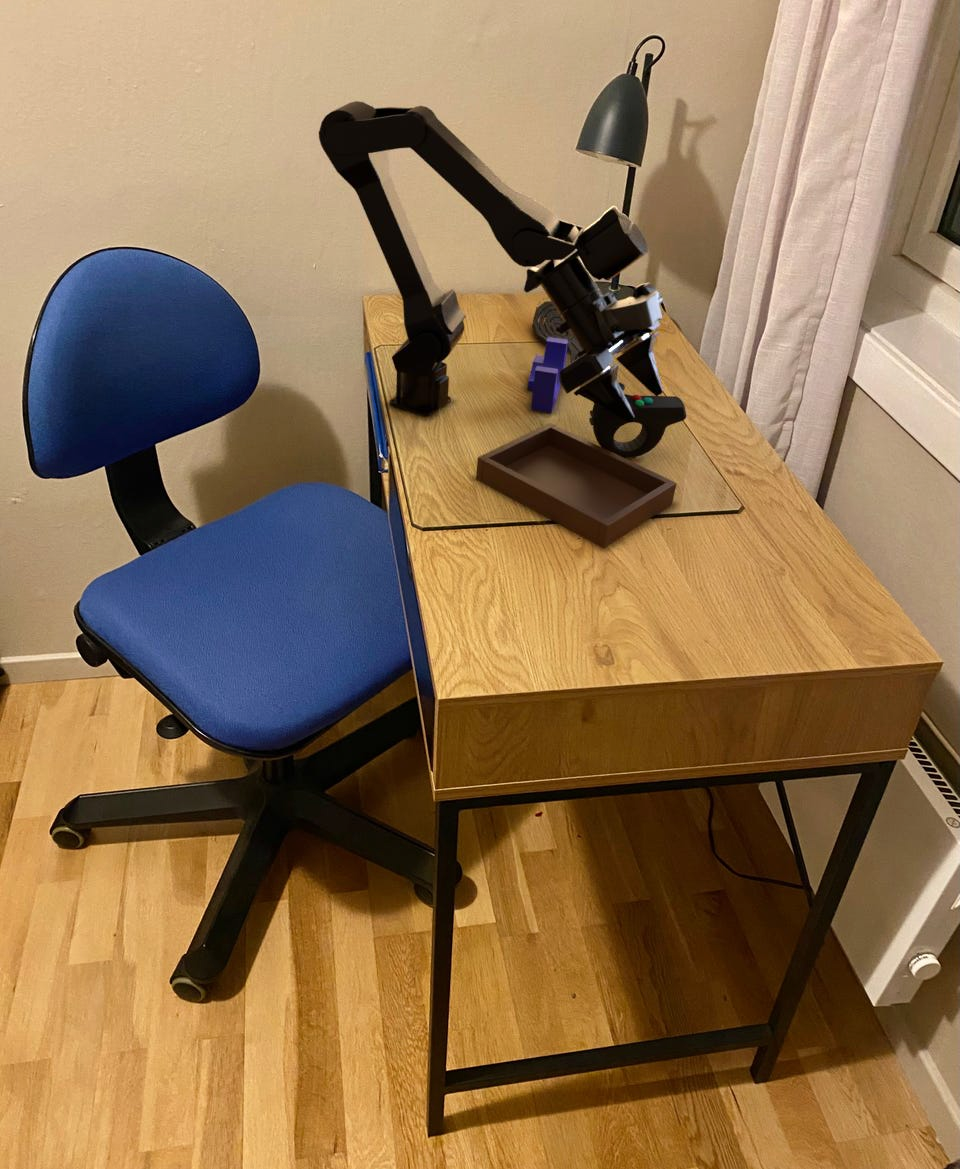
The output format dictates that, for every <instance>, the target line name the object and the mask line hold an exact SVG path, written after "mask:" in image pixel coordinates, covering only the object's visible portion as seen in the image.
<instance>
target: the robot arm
mask: <svg viewBox="0 0 960 1169" xmlns="http://www.w3.org/2000/svg"><path fill="white" fill-rule="evenodd" d="M318 141H319V143H320V146H321V148H322V150H323V152H324V153H325V155H326V156H327V159H328V160H329V161H330V163H331V165H332V166H333V168H334V169H335V171H336V173H337V174H338V175H339V176H340V177H341V178H342V179H343V180H344V181H345V182H346V183H347V184H349V186H350V187H351V188H352V189H354V191H355V193H356V195H357V196H358V200H359V202H360V204H361V206H362V208H363V211H364V213H365V216H366V218H367V220H368V222H369V224H370V227H371V229H372V231H373V234H374V236H375V238H376V241H377V243H378V246H379V248H380V250H381V252H382V254H383V257H384V260H385V262H386V264H387V266H388V269H389V271H390V273H391V275H392V278H393V280H394V282H395V285H396V287H397V289H398V291H399V294H400V296H401V300H402V305H403V306H402V308H403V309H402V310H403V311H402V312H403V326H404V330H405V332H406V339H405V341H404V342H403V343H402V344H401V346H399V348H398V349H396V351H395V353H394V354H392V356H391V360H392V364H393V367H394V370H395V372H396V379H395V380H396V382H395V383H396V385H395V386H396V389H395V390H396V392H395V397H393V398H391V399H390V400H389V405H390V406H393V407H396V408H398V409H401V410H404V411H406V412H407V411H408V412H409V413H412V414H416V415H418V416H421V417H425V418H429V417H430V416H432V415H433V414H435V413H436V412H438V411H439V410H441V409H442V408H444V407H445V406H447V405H448V404H449V403H451V402H452V397H451V396H449V388H450V387H449V385H450V377H449V375H447V373H448V371H447V370H448V364H447V363H445V362H444V361H445V360H446V359H447V358H448V357H449V355H450V354H451V353H452V351H453V350H454V349H455V347H456V346H457V344H458V343H459V342H460V341H461V339H462V337H463V335H464V332H465V324H464V320H465V318H466V317H467V315H466V313H464V311H463V310H462V308H461V307H460V304H459V300H458V296H457V293H456V291H455V289H451V290H449V291H447V292H444V290H443V289H441V287H439V286H438V284H437V283H436V282H435V281H434V278H433V275H432V273H431V271H430V268H429V266H428V264H427V261H426V259H425V256H424V254H423V251H422V248H421V247H420V245H419V242H418V240H417V237H416V234H415V232H414V230H413V227H412V225H411V223H410V220H409V218H408V215H407V213H406V210H405V208H404V206H403V203H402V201H401V199H400V196H399V194H398V191H397V189H396V185H395V184H394V182H393V179H392V177H391V172H390V159H389V151H391V150H398V149H410V150H412V151H413V152H414V153H416V155H418V156H419V157H420V159H422V160H423V162H425V163H426V164H427V165H428V166H429V167H430V168H431V169H432V170H434V171H435V172H436V173H437V174H438V175H439V176H440V177H441V178H442V179H443V180H444V181H445V182H446V183H447V184H448V185H450V187H452V188H453V189H454V190H455V191H456V192H457V193H458V194H459V195H460V196H461V197H462V198H464V199H465V200H466V201H467V202H468V203H469V204H470V205H471V206H472V207H473V208H474V209H475V210H476V211H477V212H478V213H480V214H481V216H482V217H483V218H484V219H485V220H484V221H486V222H487V224H488V226H489V228H490V230H491V232H492V234H493V237H494V238H495V239H496V241H497V243H498V244H499V245H500V246H501V247H502V249H503V250H504V251H505V253H506V254H507V255H508V256H509V258H510V260H512V261H513V262H514V263H515V264H516V265H518V266H520V267H522V268H527V270H526V280H525V284H524V286H523V291H524V292H525V293H530V292H532V291H533V290H536V289H538V288H539V287H540V286H541V288H542V289H543V291H544V292H545V294H546V295H547V298H548V300H549V301H551V302H552V303H553V305H554V306H555V308H556V310H557V311H558V313H559V314H561V315H560V316H561V317H562V319H563V320H564V323H563V324H561V325H560V326H559V327H560V328H561V330H562V332H563V333H564V332H566V331H567V330H568V329H569V330H570V331H571V333H572V334H573V336H574V338H575V339H576V341H577V342H578V344H579V345H580V347H581V349H582V351H580V352H579V353H578V354H577V355H578V356H579V358H578V359H576V360H575V361H573V362H572V363H570V362H569V364H567V365H565V367H564V369H562V370H561V371H560V372H559V383H560V384H561V386H560V387H562V389H563V391H564V392H565V394H566V395H569V393H571V392H573V395H574V396H576V397H577V396H581V397H583V398H585V399H586V400H589V401H590V402H592V403H593V404H594V403H596V404H598V405H600V406H601V407H603V408H605V409H606V410H608V411H610V412H611V413H613V414H615V415H616V416H618V417H620V418H621V419H623V420H624V421H626V422H631V421H632V420H634V419H635V416H634V414H633V411H632V409H631V407H630V405H629V403H628V401H627V399H626V397H625V395H624V394H625V393H624V390H623V391H622V389H621V387H620V385H619V384H618V382H619V381H618V373H619V372H618V370H619V363H620V364H621V365H622V366H623V367H624V368H625V369H626V370H627V371H628V372H629V373H630V374H631V375H632V376H633V377H634V378H635V379H636V380H637V381H638V382H639V383H640V384H641V385H643V387H645V389H647V390H648V391H649V392H651V393H652V394H653V396H661V395H662V394H663V393H664V389H663V385H662V381H661V378H660V374H659V370H658V367H657V362H656V358H655V353H654V347H655V343H656V340H657V337H658V336H659V330H657V329H658V328H659V327H660V326H661V323H660V320H662V319H663V315H662V310H661V306H660V305H661V304H662V303H663V302H664V298H663V296H662V295H660V293H659V290H657V289H656V288H655V287H654V286H653V284H652V283H651V282H645V283H641V284H639V285H638V286H636V287H634V288H633V292H632V296H628V297H627V298H624V299H620V300H617V298H616V296H615V295H614V294H613V292H612V293H611V292H610V291H607V292H606V293H604V294H603V293H602V291H601V289H600V288H599V286H598V284H597V283H596V282H595V280H594V279H597V280H598V281H601V280H602V279H603V280H605V281H611V280H612V279H613V278H615V277H616V276H617V275H619V274H620V273H622V272H623V271H625V270H626V269H627V268H629V267H630V266H632V265H633V264H634V263H635V262H637V261H639V260H640V259H642V258H643V257H644V256H645V255H647V254H648V253H649V248H648V244H647V241H646V239H645V237H644V235H643V233H642V231H641V229H640V228H639V227H638V225H637V223H636V222H635V221H632V220H631V219H630V218H629V217H628V216H627V215H626V214H624V213H623V212H621V211H620V210H619V208H618V207H617V206H616V205H612V206H610V207H609V208H608V209H607V210H605V211H604V213H603V214H602V215H601V216H600V217H599V218H598V219H596V220H595V221H594V222H592V223H591V224H590V225H589V226H587V227H586V226H583V225H579V224H577V223H573V222H570V221H567V220H563V219H560V218H559V217H558V216H557V215H556V213H555V212H554V211H552V210H551V209H549V208H548V207H547V206H545V205H544V204H542V203H541V202H539V201H538V200H536V199H535V198H534V197H532V196H529V195H527V194H525V193H523V192H520V191H518V190H516V189H514V188H512V187H511V186H510V185H508V184H507V183H506V182H505V181H503V179H501V177H499V176H498V175H497V174H496V173H495V172H494V171H493V170H492V169H491V168H490V167H489V166H488V165H487V164H486V163H484V162H483V160H482V159H481V158H479V157H478V156H477V155H476V154H475V153H474V152H473V151H472V150H471V149H470V148H468V146H467V145H466V144H464V142H463V141H462V140H460V139H459V137H457V136H456V135H455V134H454V133H453V132H452V131H451V130H450V129H449V128H448V127H447V126H446V125H445V124H444V123H443V122H441V121H440V119H438V117H437V115H436V114H435V111H433V110H432V109H431V108H429V107H427V106H424V105H416V106H414V107H397V106H396V107H395V106H393V107H392V106H387V107H374V106H373V105H370V104H368V103H366V102H364V101H358V100H356V101H351V102H349V103H346V104H345V105H342V106H340V107H338V108H336V109H334V110H331V111H330V112H329V113H328V114H326V115H325V116H324V117H323V119H322V121H321V123H320V127H319V129H318ZM546 261H548V262H546ZM545 262H546V263H545ZM542 264H543V265H542ZM540 265H542V266H540ZM538 266H540V267H538ZM593 278H594V279H593ZM562 313H563V314H562ZM655 330H656V331H655ZM653 331H655V332H653ZM652 332H653V333H652ZM650 333H651V334H650ZM619 353H621V354H620V355H619V356H617V357H616V358H615V360H616V361H617V363H616V364H614V360H613V356H614V355H618V354H619ZM612 364H614V365H613V366H611V365H612ZM577 388H578V389H577ZM574 390H575V391H574Z"/></svg>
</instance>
